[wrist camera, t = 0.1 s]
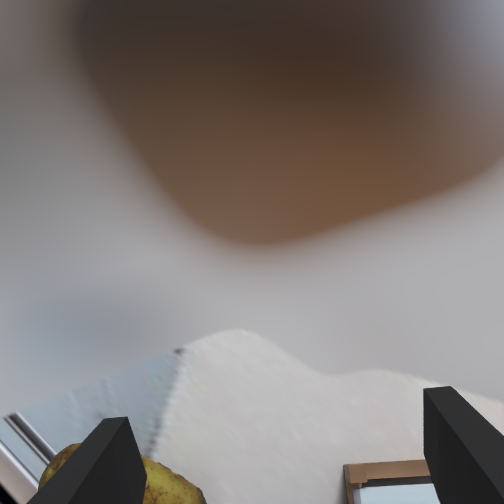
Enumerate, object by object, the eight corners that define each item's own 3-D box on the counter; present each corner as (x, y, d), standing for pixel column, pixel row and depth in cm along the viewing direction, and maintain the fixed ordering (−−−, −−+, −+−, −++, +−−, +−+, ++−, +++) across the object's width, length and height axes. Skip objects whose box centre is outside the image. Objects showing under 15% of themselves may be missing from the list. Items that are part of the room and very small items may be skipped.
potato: (165, 595, 36) (129, 628, 29) (58, 495, 40) (4, 502, 33) (223, 499, 39) (202, 508, 31) (117, 414, 43) (77, 405, 36)
